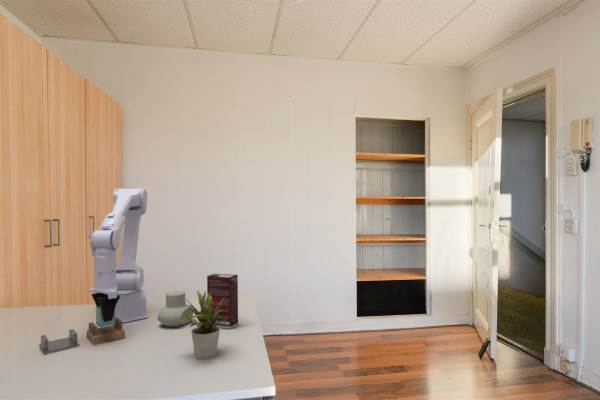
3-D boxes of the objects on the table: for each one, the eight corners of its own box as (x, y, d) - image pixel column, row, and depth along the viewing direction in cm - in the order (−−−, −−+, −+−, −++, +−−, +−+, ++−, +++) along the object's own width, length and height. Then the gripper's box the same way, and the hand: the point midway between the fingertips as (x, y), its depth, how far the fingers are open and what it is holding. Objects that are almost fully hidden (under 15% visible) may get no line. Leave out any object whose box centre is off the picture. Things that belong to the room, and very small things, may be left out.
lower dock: (73, 338, 106) (72, 327, 106) (79, 346, 101) (79, 334, 101) (39, 345, 101) (39, 334, 101) (43, 354, 95) (43, 342, 95)
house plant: (165, 351, 97) (165, 288, 97) (215, 339, 105) (214, 281, 105) (185, 370, 85) (184, 299, 86) (239, 355, 94) (238, 290, 94)
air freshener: (174, 317, 125) (174, 288, 125) (196, 319, 123) (196, 289, 123) (153, 328, 115) (153, 296, 115) (177, 330, 112) (176, 297, 112)
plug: (111, 320, 110) (111, 302, 110) (115, 324, 107) (115, 304, 107) (96, 323, 107) (95, 304, 107) (99, 327, 104) (99, 307, 104)
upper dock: (116, 330, 112) (116, 316, 112) (124, 338, 106) (124, 322, 106) (86, 337, 107) (86, 321, 107) (93, 345, 101) (93, 328, 101)
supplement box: (238, 324, 117) (238, 274, 117) (231, 329, 113) (230, 277, 113) (215, 322, 120) (214, 272, 120) (206, 326, 116) (206, 275, 116)
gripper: (83, 270, 109) (83, 316, 109) (96, 277, 99) (96, 328, 99) (109, 267, 114) (109, 311, 114) (124, 273, 103) (125, 322, 103)
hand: (105, 319), depth 107 cm, fingers closed on plug, 4 cm apart
